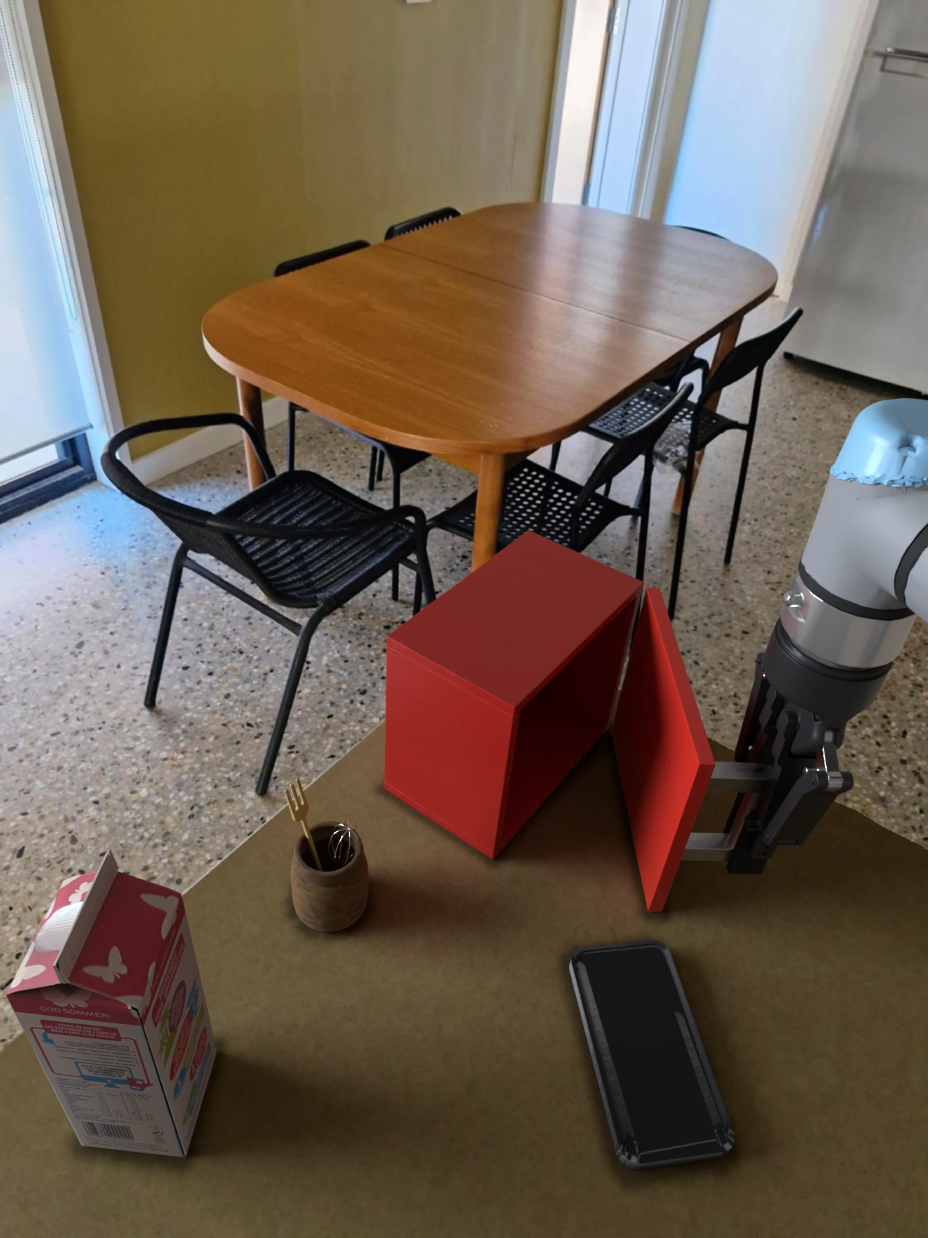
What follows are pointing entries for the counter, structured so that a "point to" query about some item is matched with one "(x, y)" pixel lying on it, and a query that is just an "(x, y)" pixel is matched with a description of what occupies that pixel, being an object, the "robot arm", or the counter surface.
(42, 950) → the juice carton
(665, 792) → the red cabinet door
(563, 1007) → the counter surface
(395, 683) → the cabinet
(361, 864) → the utensil holder
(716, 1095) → the phone
